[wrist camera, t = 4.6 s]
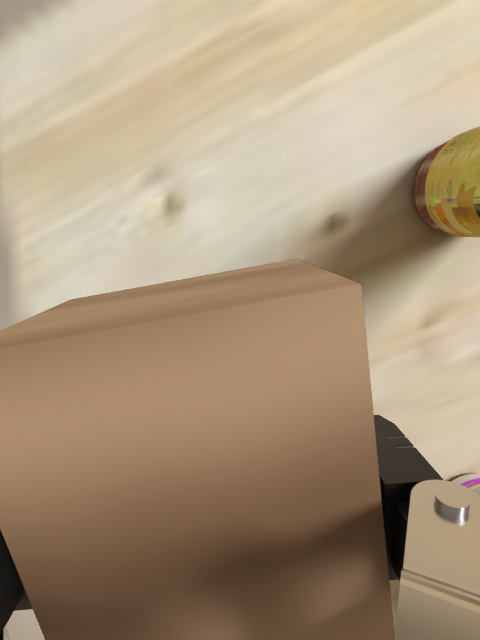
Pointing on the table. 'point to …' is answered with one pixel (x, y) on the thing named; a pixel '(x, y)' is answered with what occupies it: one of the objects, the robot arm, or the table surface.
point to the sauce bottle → (451, 186)
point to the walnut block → (197, 461)
